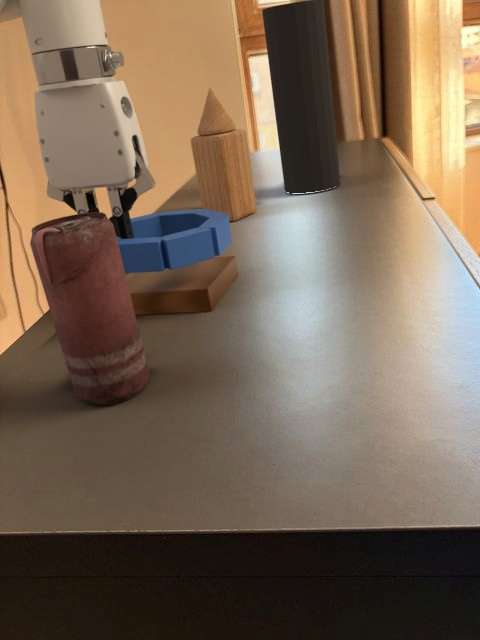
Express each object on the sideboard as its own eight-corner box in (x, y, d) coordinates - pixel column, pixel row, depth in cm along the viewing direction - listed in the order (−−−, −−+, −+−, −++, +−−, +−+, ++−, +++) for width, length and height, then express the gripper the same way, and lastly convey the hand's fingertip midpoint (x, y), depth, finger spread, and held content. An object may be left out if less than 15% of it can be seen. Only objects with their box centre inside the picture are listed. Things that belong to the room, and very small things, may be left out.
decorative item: (203, 221, 105) (179, 91, 97) (228, 211, 110) (208, 86, 101) (234, 222, 101) (212, 87, 93) (259, 211, 106) (240, 81, 98)
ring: (77, 275, 65) (70, 247, 64) (131, 238, 78) (126, 214, 76) (206, 269, 62) (202, 239, 61) (242, 231, 74) (239, 206, 73)
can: (59, 406, 51) (5, 234, 45) (104, 370, 56) (61, 212, 50) (123, 412, 48) (74, 231, 43) (164, 373, 54) (126, 207, 48)
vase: (342, 179, 121) (326, 1, 109) (338, 191, 112) (320, -3, 100) (288, 185, 123) (267, 11, 111) (280, 197, 114) (256, 9, 102)
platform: (114, 316, 69) (109, 294, 68) (152, 281, 78) (148, 262, 77) (211, 311, 66) (207, 288, 65) (238, 276, 75) (235, 255, 74)
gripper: (162, 60, 65) (191, 237, 72) (25, 78, 69) (66, 245, 76) (133, 62, 58) (168, 257, 66) (-17, 82, 62) (33, 264, 70)
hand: (113, 249), depth 71 cm, fingers closed on ring, 2 cm apart
